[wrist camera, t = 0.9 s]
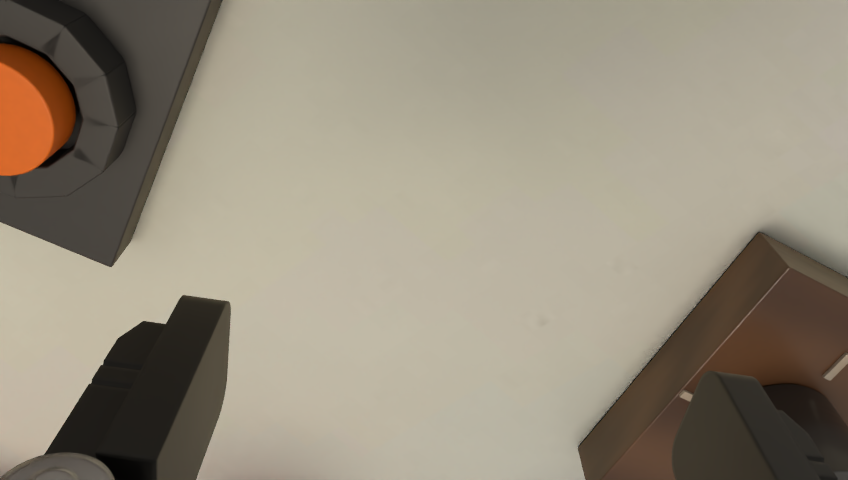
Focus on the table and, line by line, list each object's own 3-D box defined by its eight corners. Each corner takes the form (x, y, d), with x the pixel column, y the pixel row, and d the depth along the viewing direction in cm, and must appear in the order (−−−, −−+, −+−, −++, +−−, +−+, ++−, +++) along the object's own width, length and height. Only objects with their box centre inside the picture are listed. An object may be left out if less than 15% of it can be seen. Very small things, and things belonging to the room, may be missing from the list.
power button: (-32, 20, 24) (-64, 33, 22) (90, 77, 25) (68, 93, 23) (-55, 125, 26) (-87, 143, 24) (59, 175, 26) (36, 195, 25)
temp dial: (762, 365, 31) (822, 458, 26) (863, 412, 32) (937, 509, 28) (681, 452, 33) (722, 552, 29) (778, 494, 35) (832, 595, 30)
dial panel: (758, 230, 31) (790, 268, 29) (931, 321, 34) (977, 364, 31) (577, 448, 37) (588, 496, 35) (734, 513, 40) (757, 564, 37)
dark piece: (-26, -146, 25) (-100, -144, 21) (228, -16, 27) (198, 6, 23) (-87, 151, 30) (-155, 192, 26) (130, 242, 32) (93, 292, 28)
